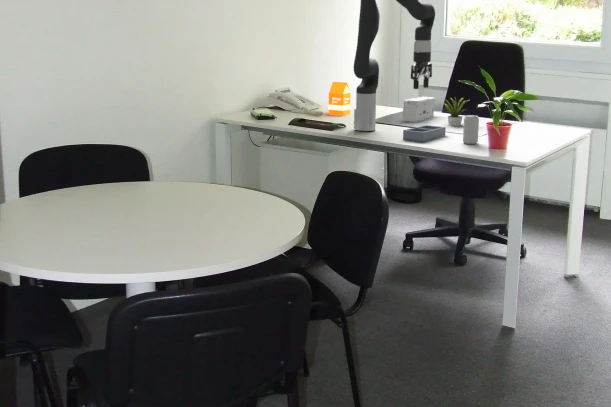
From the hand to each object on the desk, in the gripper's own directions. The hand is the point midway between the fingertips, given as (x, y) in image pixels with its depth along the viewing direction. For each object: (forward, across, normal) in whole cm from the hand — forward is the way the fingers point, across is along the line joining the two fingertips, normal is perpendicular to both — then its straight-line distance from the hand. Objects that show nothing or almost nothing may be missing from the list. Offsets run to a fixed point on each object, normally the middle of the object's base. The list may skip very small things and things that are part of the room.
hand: (420, 88), depth 350 cm
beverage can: (+23, -6, +22) cm, 33 cm away
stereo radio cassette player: (+23, -43, -25) cm, 55 cm away
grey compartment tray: (+23, -5, 0) cm, 23 cm away
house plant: (+23, -40, -2) cm, 46 cm away
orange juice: (+23, -28, -64) cm, 73 cm away
